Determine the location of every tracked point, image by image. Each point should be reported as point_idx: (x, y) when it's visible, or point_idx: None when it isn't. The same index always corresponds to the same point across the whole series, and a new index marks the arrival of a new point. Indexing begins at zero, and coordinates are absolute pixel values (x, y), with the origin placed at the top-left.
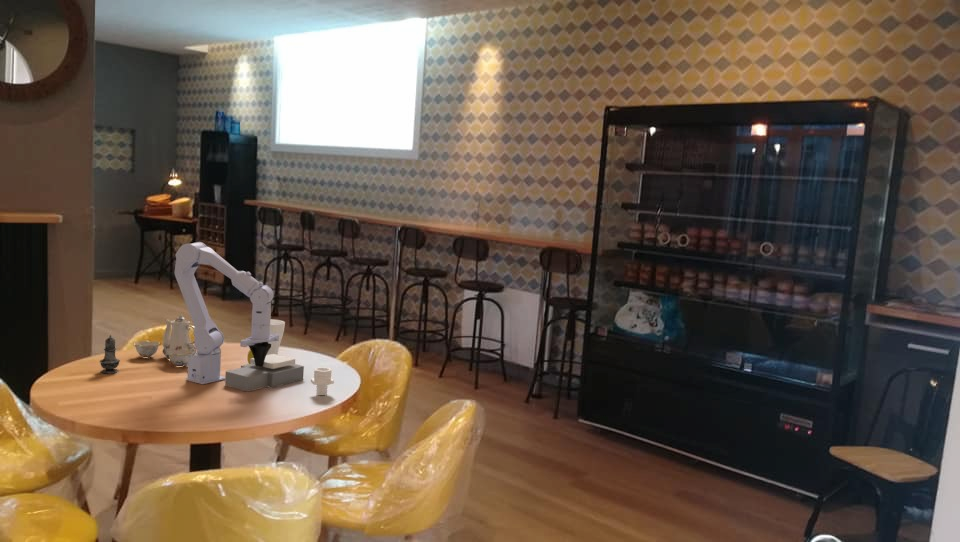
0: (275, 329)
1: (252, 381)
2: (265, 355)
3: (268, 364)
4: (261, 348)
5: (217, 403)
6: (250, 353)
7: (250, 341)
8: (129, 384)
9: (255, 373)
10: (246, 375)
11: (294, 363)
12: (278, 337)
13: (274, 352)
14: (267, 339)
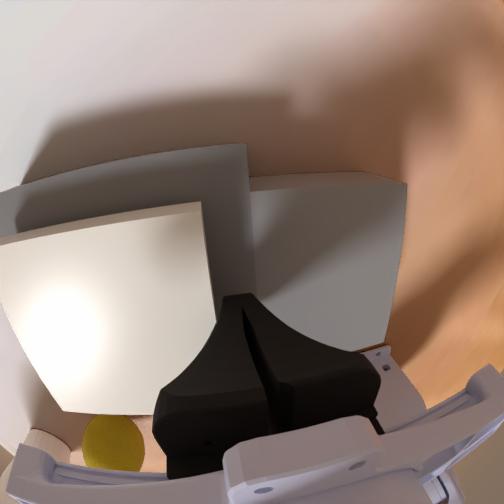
0: (19, 502)
1: (365, 178)
2: (219, 337)
3: (207, 260)
4: (350, 360)
5: (485, 145)
6: (138, 464)
7: (487, 413)
8: (440, 394)
9: (327, 226)
10: (390, 221)
11: (3, 237)
12: (16, 474)
13: (34, 444)
14: (332, 477)
